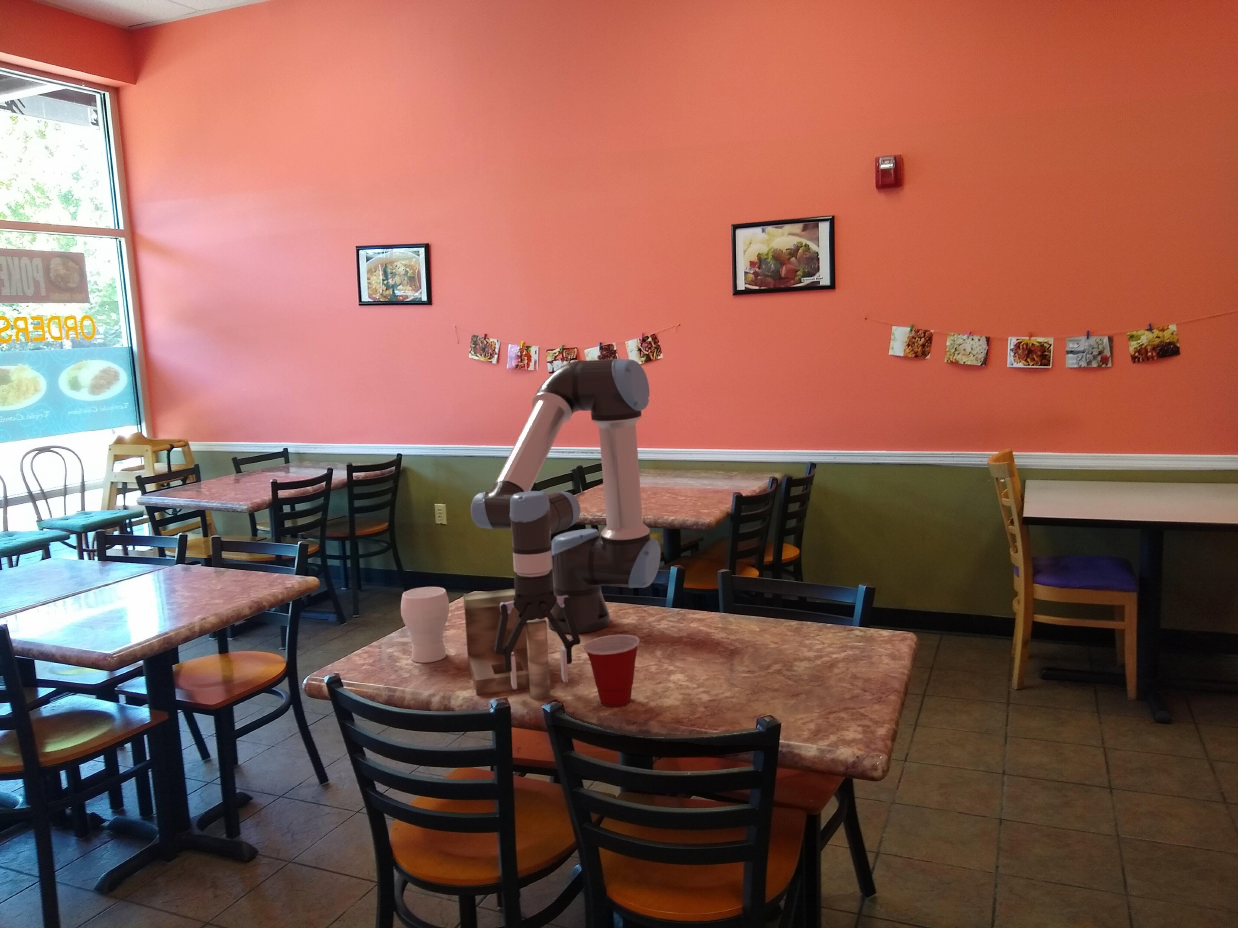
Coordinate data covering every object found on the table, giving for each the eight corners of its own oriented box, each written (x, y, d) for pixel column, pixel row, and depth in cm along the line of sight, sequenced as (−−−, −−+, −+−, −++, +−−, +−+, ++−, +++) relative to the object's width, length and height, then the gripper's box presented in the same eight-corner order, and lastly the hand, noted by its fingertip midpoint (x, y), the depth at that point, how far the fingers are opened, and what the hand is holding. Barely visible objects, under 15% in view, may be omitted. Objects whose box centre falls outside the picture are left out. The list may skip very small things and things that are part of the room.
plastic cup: (597, 688, 184) (594, 630, 182) (649, 693, 180) (646, 633, 179) (577, 709, 174) (574, 648, 172) (632, 714, 170) (629, 652, 169)
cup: (441, 665, 201) (437, 599, 199) (396, 664, 203) (391, 598, 201) (459, 649, 211) (455, 586, 210) (416, 648, 214) (411, 585, 212)
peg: (548, 690, 184) (544, 617, 182) (552, 697, 180) (548, 623, 178) (528, 693, 183) (524, 620, 181) (531, 700, 179) (527, 625, 177)
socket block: (531, 657, 204) (527, 587, 202) (545, 685, 187) (541, 608, 185) (468, 665, 201) (463, 594, 199) (476, 694, 183) (471, 616, 181)
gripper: (584, 561, 185) (590, 669, 187) (474, 573, 179) (481, 683, 182) (593, 570, 177) (598, 682, 180) (478, 582, 172) (485, 697, 175)
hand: (539, 682), depth 181 cm, fingers open, 9 cm apart
